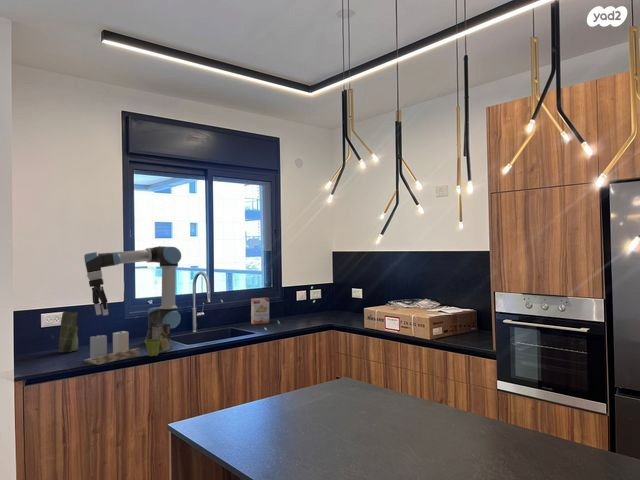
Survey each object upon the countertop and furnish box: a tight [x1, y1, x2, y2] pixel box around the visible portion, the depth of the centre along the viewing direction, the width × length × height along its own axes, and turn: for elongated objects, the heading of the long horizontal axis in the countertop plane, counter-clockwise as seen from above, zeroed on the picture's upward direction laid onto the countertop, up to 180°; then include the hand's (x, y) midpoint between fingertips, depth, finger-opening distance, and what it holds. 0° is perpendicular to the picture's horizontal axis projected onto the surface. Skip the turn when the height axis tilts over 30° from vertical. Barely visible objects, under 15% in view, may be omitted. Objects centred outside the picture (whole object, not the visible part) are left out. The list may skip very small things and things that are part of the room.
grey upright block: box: [89, 334, 108, 359], centre depth 265 cm, size 7×5×12 cm
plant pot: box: [144, 339, 161, 357], centre depth 276 cm, size 9×9×9 cm
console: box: [83, 347, 141, 366], centre depth 269 cm, size 26×14×4 cm, turn 147°
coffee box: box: [152, 324, 172, 354], centre depth 287 cm, size 9×6×16 cm
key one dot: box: [112, 330, 130, 353], centre depth 277 cm, size 7×5×12 cm
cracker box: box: [250, 297, 270, 325], centre depth 383 cm, size 14×6×21 cm, turn 119°
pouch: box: [57, 310, 79, 354], centre depth 287 cm, size 11×12×25 cm
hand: (102, 314), depth 272 cm, fingers open, 13 cm apart
